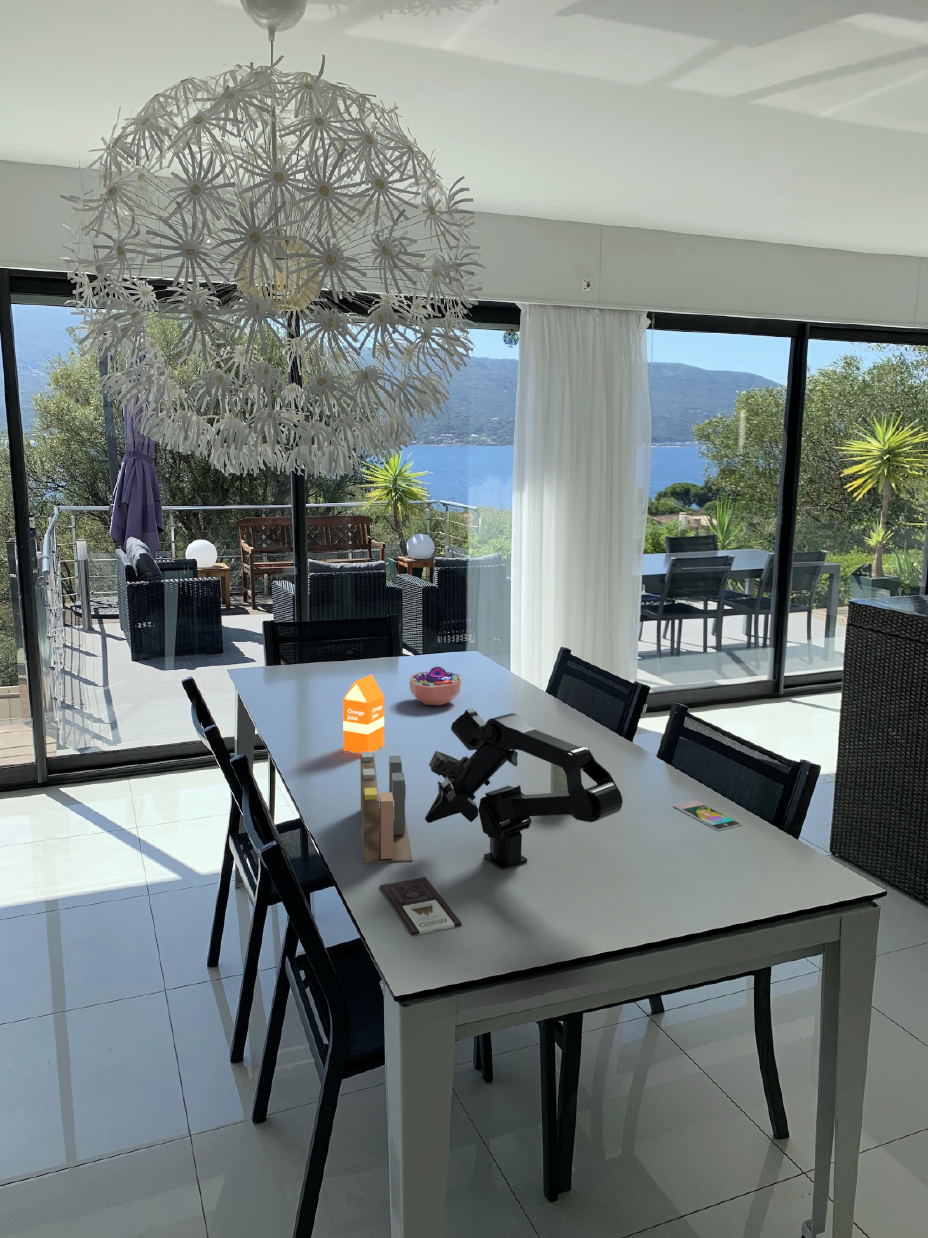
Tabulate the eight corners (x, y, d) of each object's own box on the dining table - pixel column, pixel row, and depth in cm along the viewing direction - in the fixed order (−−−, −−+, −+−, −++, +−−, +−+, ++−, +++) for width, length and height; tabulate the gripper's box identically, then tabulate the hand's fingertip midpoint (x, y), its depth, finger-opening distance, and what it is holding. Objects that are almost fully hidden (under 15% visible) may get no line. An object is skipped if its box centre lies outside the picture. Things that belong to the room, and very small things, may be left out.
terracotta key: (393, 848, 183) (393, 792, 181) (394, 858, 179) (394, 800, 177) (379, 849, 183) (379, 792, 181) (380, 858, 179) (380, 801, 176)
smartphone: (717, 829, 196) (672, 804, 209) (717, 832, 196) (672, 807, 209) (742, 824, 199) (696, 800, 212) (742, 827, 199) (695, 803, 212)
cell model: (399, 709, 284) (399, 674, 282) (421, 693, 303) (421, 660, 301) (450, 714, 279) (451, 678, 277) (469, 697, 298) (470, 664, 296)
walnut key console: (403, 808, 206) (403, 749, 203) (412, 861, 179) (412, 794, 177) (360, 810, 204) (360, 750, 202) (363, 863, 178) (363, 796, 175)
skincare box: (581, 803, 210) (583, 753, 208) (573, 809, 207) (575, 758, 204) (556, 797, 214) (558, 748, 211) (548, 803, 210) (550, 753, 208)
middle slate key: (404, 825, 194) (404, 772, 192) (405, 834, 190) (406, 780, 188) (391, 826, 194) (391, 773, 192) (392, 835, 190) (393, 780, 187)
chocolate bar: (425, 877, 172) (461, 922, 155) (425, 881, 172) (461, 927, 156) (380, 885, 168) (412, 932, 152) (380, 889, 168) (411, 938, 152)
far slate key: (400, 806, 205) (401, 755, 203) (402, 813, 201) (402, 762, 198) (388, 806, 205) (389, 755, 203) (390, 814, 200) (390, 762, 198)
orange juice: (384, 746, 248) (384, 675, 244) (368, 756, 240) (367, 683, 236) (360, 742, 251) (359, 672, 248) (342, 751, 243) (342, 679, 240)
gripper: (446, 725, 187) (393, 778, 187) (462, 755, 169) (403, 814, 169) (483, 759, 190) (430, 812, 190) (502, 792, 172) (444, 850, 172)
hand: (426, 821), depth 180 cm, fingers closed
